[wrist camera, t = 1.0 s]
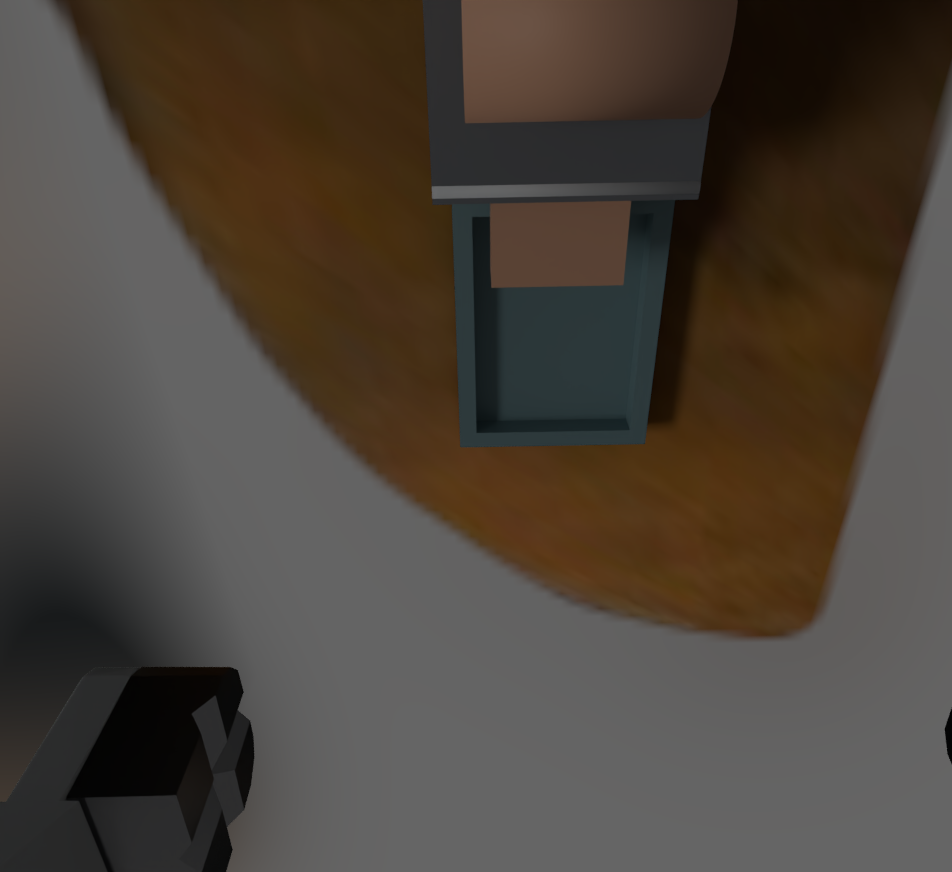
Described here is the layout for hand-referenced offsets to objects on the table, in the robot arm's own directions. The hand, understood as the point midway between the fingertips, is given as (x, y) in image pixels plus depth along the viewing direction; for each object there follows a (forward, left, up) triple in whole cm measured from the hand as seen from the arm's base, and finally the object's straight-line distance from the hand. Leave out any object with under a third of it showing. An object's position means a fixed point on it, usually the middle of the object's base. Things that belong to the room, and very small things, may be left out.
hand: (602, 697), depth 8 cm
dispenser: (-4, +2, -26) cm, 27 cm away
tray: (+7, +2, -26) cm, 27 cm away
